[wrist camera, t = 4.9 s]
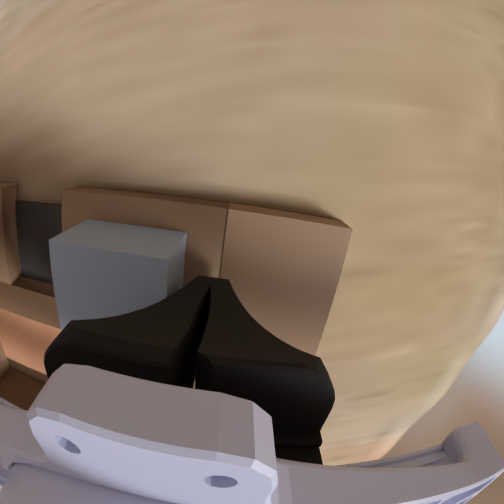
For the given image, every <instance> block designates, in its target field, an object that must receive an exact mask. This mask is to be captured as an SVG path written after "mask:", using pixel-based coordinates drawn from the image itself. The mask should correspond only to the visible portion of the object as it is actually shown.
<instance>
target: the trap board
mask: <svg viewBox="0 0 504 504" xmlns="http://www.w3.org/2000/svg"><path fill="white" fill-rule="evenodd" d="M87 219H90V220H98V221H106V222H114V223H121V224H129V225H136V226H144V227H151V228H159V229H166V230H174V231H181V232H187V238H186V250H185V262H184V276H183V287H184V286H185V285H186V284H188V283H189V282H190V281H192V280H193V279H194V278H196V277H197V276H198V275H201V276H208V277H215V278H222V279H228V280H229V281H230V282H231V285H232V287H233V290H234V292H235V293H236V295H237V297H238V299H239V300H240V302H241V303H242V305H243V306H244V308H245V309H246V310H247V312H248V313H249V314H250V315H251V316H252V317H253V318H254V319H255V320H256V321H257V322H258V323H259V324H260V325H261V326H262V327H264V328H265V329H266V330H267V331H269V332H270V333H271V334H273V335H274V336H276V337H277V338H279V339H280V340H282V341H284V342H285V343H287V344H289V345H291V346H293V347H295V348H297V349H299V350H301V351H304V352H306V353H309V354H311V355H314V356H315V354H316V351H317V348H318V345H319V342H320V339H321V336H322V333H323V330H324V327H325V324H326V321H327V318H328V315H329V311H330V308H331V305H332V302H333V298H334V295H335V291H336V288H337V285H338V281H339V278H340V274H341V270H342V267H343V263H344V259H345V255H346V252H347V248H348V244H349V240H350V236H351V232H352V228H350V227H349V226H348V225H346V224H345V223H344V222H342V221H341V220H336V219H330V218H325V217H319V216H313V215H308V214H302V213H296V212H290V211H284V210H277V209H271V208H264V207H258V206H251V205H244V204H237V203H230V202H223V201H215V200H208V199H200V198H192V197H184V196H175V195H167V194H157V193H148V192H138V191H128V190H117V189H106V188H94V187H80V186H77V187H74V188H70V189H67V190H63V191H62V205H57V204H47V203H36V202H25V201H17V183H1V182H0V397H1V398H3V399H4V400H6V401H8V402H10V403H12V404H13V405H15V406H17V407H19V408H21V409H23V410H26V411H28V410H29V408H30V407H31V405H32V403H33V402H34V400H35V399H36V397H37V396H38V394H39V393H40V391H41V390H42V388H43V387H44V385H45V384H46V382H47V381H48V376H47V374H46V370H45V366H44V354H45V352H46V350H47V348H48V347H49V345H50V344H51V343H52V342H53V341H54V339H55V338H56V337H57V336H58V335H59V333H60V332H61V326H60V321H59V316H58V311H57V305H56V300H55V293H54V287H53V279H52V271H51V262H50V251H49V239H51V238H53V237H55V236H57V235H59V234H60V233H62V232H64V231H66V230H68V229H70V228H72V227H74V226H76V225H78V224H80V223H82V222H83V221H85V220H87ZM193 389H195V382H194V386H193Z"/></svg>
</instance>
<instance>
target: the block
mask: <svg viewBox="0 0 504 504" xmlns="http://www.w3.org/2000/svg"><path fill="white" fill-rule="evenodd" d="M186 238H187V232H181V231H174V230H166V229H159V228H151V227H144V226H136V225H129V224H121V223H114V222H106V221H98V220H90V219H87V220H85V221H83V222H82V223H80V224H78V225H76V226H74V227H72V228H70V229H68V230H66V231H64V232H62V233H60V234H59V235H57V236H55V237H53V238H51V239H49V251H50V262H51V271H52V279H53V287H54V293H55V300H56V305H57V311H58V316H59V321H60V326H61V331H62V330H63V329H64V327H65V326H66V325H67V324H68V323H69V322H70V321H71V320H86V319H99V318H107V317H113V316H118V315H122V314H126V313H130V312H133V311H136V310H140V309H143V308H145V307H148V306H150V305H153V304H155V303H157V302H159V301H161V300H163V299H165V298H167V297H168V296H170V295H172V294H173V293H175V292H177V291H178V290H180V289H181V288H182V287H183V276H184V262H185V250H186Z"/></svg>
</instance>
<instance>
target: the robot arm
mask: <svg viewBox="0 0 504 504" xmlns="http://www.w3.org/2000/svg"><path fill="white" fill-rule="evenodd" d="M44 366H45V370H46V374H47V376H48V381H47V382H46V384H45V385H44V387H43V388H42V390H41V391H40V393H39V394H38V396H37V397H36V399H35V400H34V402H33V403H32V405H31V407H30V408H29V410H28V411H26V410H23V409H21V408H19V407H17V406H15V405H13V404H12V403H10V402H8V401H6V400H4V399H3V398H1V397H0V485H1V486H2V488H1V491H0V504H465V503H466V502H467V501H469V500H470V499H471V498H472V497H474V496H475V495H476V494H478V493H479V492H480V491H481V490H482V489H484V488H485V487H486V486H487V485H489V484H490V483H491V482H492V481H493V480H494V479H496V478H497V477H498V476H499V475H500V474H501V473H502V472H503V471H504V461H503V459H502V458H501V456H500V454H499V453H498V451H497V449H496V448H495V446H494V445H493V443H492V441H491V440H490V438H489V437H488V435H487V434H486V432H485V431H484V429H483V428H482V426H481V424H480V423H479V422H478V421H475V422H472V423H469V424H466V425H463V426H460V427H458V428H456V429H455V430H453V431H452V432H451V433H450V434H449V435H448V436H447V437H446V438H445V440H444V441H443V442H442V444H440V445H437V446H433V447H430V448H426V449H423V450H419V451H416V452H411V453H407V454H403V455H399V456H394V457H389V458H384V459H379V460H373V461H367V462H361V463H354V464H346V465H337V466H330V465H323V463H322V458H321V454H320V449H319V446H321V444H322V438H321V434H320V430H321V428H322V426H323V424H324V423H325V421H326V419H327V417H328V415H329V413H330V411H331V409H332V407H333V404H334V401H335V393H334V388H333V385H332V382H331V379H330V377H329V374H328V372H327V370H326V368H325V366H324V364H323V362H322V360H321V358H319V357H316V356H314V355H311V354H309V353H306V352H304V351H301V350H299V349H297V348H295V347H293V346H291V345H289V344H287V343H285V342H284V341H282V340H280V339H279V338H277V337H276V336H274V335H273V334H271V333H270V332H269V331H267V330H266V329H265V328H264V327H262V326H261V325H260V324H259V323H258V322H257V321H256V320H255V319H254V318H253V317H252V316H251V315H250V314H249V313H248V312H247V310H246V309H245V308H244V306H243V305H242V303H241V302H240V300H239V299H238V297H237V295H236V293H235V292H234V290H233V287H232V285H231V282H230V281H229V280H228V279H222V278H215V277H208V276H201V275H198V276H197V277H196V278H194V279H193V280H192V281H190V282H189V283H188V284H186V285H185V286H184V287H182V288H181V289H180V290H178V291H177V292H175V293H173V294H172V295H170V296H168V297H167V298H165V299H163V300H161V301H159V302H157V303H155V304H153V305H150V306H148V307H145V308H143V309H140V310H136V311H133V312H130V313H126V314H122V315H118V316H113V317H107V318H99V319H86V320H71V321H70V322H69V323H68V324H67V325H66V326H65V327H64V329H63V330H62V331H61V332H60V333H59V335H58V336H57V337H56V338H55V339H54V341H53V342H52V343H51V344H50V345H49V347H48V348H47V350H46V352H45V354H44ZM194 382H195V389H193V386H194Z"/></svg>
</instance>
